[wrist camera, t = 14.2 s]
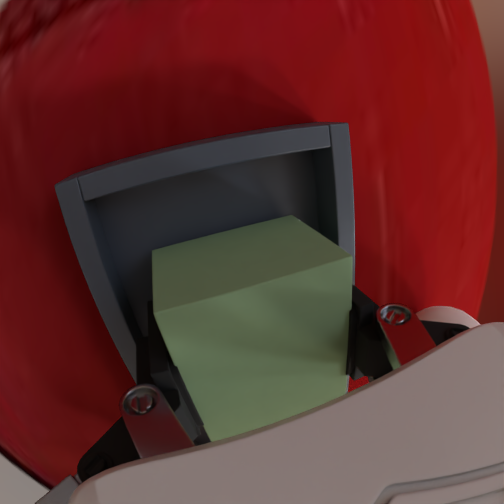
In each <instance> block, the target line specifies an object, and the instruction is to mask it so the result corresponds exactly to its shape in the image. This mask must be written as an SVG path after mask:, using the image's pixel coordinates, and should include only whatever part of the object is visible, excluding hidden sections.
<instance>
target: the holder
mask: <svg viewBox="0 0 504 504" xmlns="http://www.w3.org/2000/svg"><path fill="white" fill-rule="evenodd" d="M55 190H56V194H57V197H58V201H59V204H60V208H61V211H62V214H63V217H64V221H65V224H66V227H67V230H68V233H69V236H70V239H71V242H72V245H73V247H74V250H75V253H76V256H77V258H78V261H79V264H80V266H81V269H82V272H83V274H84V277H85V279H86V282H87V284H88V286H89V289H90V291H91V294H92V296H93V298H94V301H95V303H96V305H97V307H98V310H99V312H100V314H101V316H102V318H103V321H104V323H105V325H106V327H107V329H108V331H109V333H110V335H111V337H112V339H113V341H114V343H115V345H116V347H117V349H118V351H119V353H120V355H121V357H122V359H123V361H124V363H125V365H126V366H127V368H128V370H129V372H130V374H131V375H132V377H133V379H134V381H135V383H136V340H137V338H142V337H146V336H148V310H147V302H148V301H150V300H153V289H152V250H155V249H159V248H163V247H166V246H170V245H174V244H178V243H182V242H185V241H189V240H193V239H197V238H201V237H205V236H208V235H212V234H216V233H220V232H224V231H228V230H232V229H236V228H240V227H244V226H248V225H252V224H256V223H260V222H264V221H268V220H272V219H277V218H281V217H285V216H289V215H293V216H294V217H296V218H297V219H299V220H300V221H302V222H303V223H305V224H306V225H308V226H309V227H311V228H312V229H314V230H315V231H317V232H318V233H320V234H321V235H323V236H324V237H326V238H327V239H329V240H330V241H332V242H333V243H334V244H336V245H337V246H339V247H340V248H342V249H343V250H345V251H346V252H347V253H349V254H350V255H352V284H353V285H354V286H355V220H354V193H353V175H352V160H351V148H350V136H349V126H348V123H342V122H313V123H303V124H295V125H287V126H279V127H272V128H265V129H258V130H252V131H245V132H239V133H234V134H228V135H223V136H217V137H212V138H207V139H202V140H197V141H193V142H188V143H183V144H179V145H175V146H170V147H166V148H162V149H158V150H154V151H150V152H146V153H142V154H139V155H135V156H131V157H128V158H124V159H120V160H117V161H114V162H110V163H107V164H104V165H100V166H97V167H94V168H91V169H88V170H85V171H82V172H78V173H76V174H73V175H71V176H69V177H67V178H65V179H64V180H62V181H60V182H59V183H57V184H56V185H55ZM136 384H137V383H136ZM348 384H349V374H348V375H347V384H346V394H347V393H348ZM199 428H200V432H201V435H198V436H197V437H196V438H195V440H194V441H193V443H194V444H195V446H198V445H202V444H206V443H210V442H211V441H210V439H209V437H208V435H207V433H206V431H205V429H204V427H203V426H199Z"/></svg>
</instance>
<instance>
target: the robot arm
mask: <svg viewBox="0 0 504 504" xmlns="http://www.w3.org/2000/svg"><path fill="white" fill-rule="evenodd" d="M147 310H148V336H146V337H142V338H137V340H136V383H137V385H135V386H133V387H131V388H129V389H128V390H127V391H126V392H125V393H124V394H123V395H122V397H121V398H120V401H119V409H120V412H121V415H122V417H121V418H120V419H119V420H118V421H117V422H116V423H115V424H114V425H113V426H112V427H111V428H110V429H109V430H108V431H107V432H106V433H105V434H104V435H103V436H102V437H101V438H100V439H99V440H98V441H97V442H96V443H95V444H94V445H93V446H92V447H91V448H90V449H89V450H88V451H87V452H86V453H85V454H84V455H83V457H82V458H81V459H80V461H79V463H78V466H77V474H76V475H74V476H72V475H71V474H70V475H69V476H67V477H66V478H65V479H64V480H63V481H61V482H60V483H59V484H58V485H57V486H55V487H54V488H53V489H52V490H50V491H49V492H48V493H47V494H46V495H44V496H43V497H42V498H41V499H39V500H38V501H37V502H36V503H35V504H504V323H502V322H494V323H487V324H483V325H478V326H476V327H473V328H469V327H467V326H465V325H462V324H455V323H445V322H435V321H425V320H419V318H418V317H417V315H416V314H415V312H414V311H413V310H412V309H411V308H410V307H408V306H407V305H404V304H401V303H388V304H385V305H383V306H381V307H379V306H378V305H377V304H375V303H374V302H373V301H372V300H371V299H370V298H368V297H367V296H366V295H365V294H364V293H363V292H361V291H360V290H359V289H358V288H357V287H355V286H354V285H353V284H352V309H351V310H349V330H348V348H347V363H346V375H348V374H349V375H350V376H351V378H352V379H353V380H356V379H359V378H361V377H363V376H368V379H369V382H370V383H368V384H366V385H364V386H362V387H359V388H357V389H355V390H353V391H351V392H349V393H347V394H344V395H342V396H340V397H338V398H335V399H333V400H331V401H329V402H326V403H324V404H322V405H319V406H317V407H314V408H312V409H309V410H307V411H304V412H302V413H299V414H297V415H294V416H291V417H289V418H286V419H283V420H280V421H278V422H275V423H272V424H269V425H266V426H263V427H260V428H257V429H254V430H251V431H248V432H245V433H241V434H238V435H235V436H231V437H228V438H224V439H221V440H217V441H214V442H210V443H206V444H202V445H198V446H195V444H194V443H193V441H194V440H195V438H196V437H197V436H198V435H201V432H200V428H199V426H203V425H204V423H203V421H202V419H201V417H200V415H199V413H198V411H197V409H196V407H195V405H194V403H193V400H192V398H191V396H190V394H189V392H188V390H187V387H186V385H185V383H184V381H183V379H182V376H181V374H180V372H179V369H178V367H177V366H175V365H174V363H173V361H172V359H171V356H170V354H169V352H168V349H167V347H166V344H165V342H164V340H163V337H162V335H161V332H160V330H159V327H158V324H157V322H156V319H155V317H154V313H153V300H150V301H148V302H147Z"/></svg>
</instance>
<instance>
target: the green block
mask: <svg viewBox="0 0 504 504" xmlns="http://www.w3.org/2000/svg"><path fill="white" fill-rule="evenodd" d="M152 289H153V313H154V317H155V319H156V322H157V324H158V327H159V330H160V332H161V335H162V337H163V340H164V342H165V344H166V347H167V349H168V352H169V354H170V356H171V359H172V361H173V363H174V365H175V366H177V367H178V369H179V372H180V374H181V376H182V379H183V381H184V383H185V385H186V387H187V390H188V392H189V394H190V396H191V398H192V400H193V403H194V405H195V407H196V409H197V411H198V413H199V415H200V417H201V419H202V421H203V423H204V425H203V427H204V429H205V431H206V433H207V435H208V437H209V439H210V441H211V442H214V441H217V440H221V439H224V438H228V437H231V436H235V435H238V434H241V433H245V432H248V431H251V430H254V429H257V428H260V427H263V426H266V425H269V424H272V423H275V422H278V421H280V420H283V419H286V418H289V417H291V416H294V415H297V414H299V413H302V412H304V411H307V410H309V409H312V408H314V407H317V406H319V405H322V404H324V403H326V402H329V401H331V400H333V399H335V398H338V397H340V396H342V395H344V394H346V384H347V375H346V363H347V348H348V330H349V310H351V309H352V255H350V254H349V253H347V252H346V251H345V250H343V249H342V248H340V247H339V246H337V245H336V244H334V243H333V242H332V241H330V240H329V239H327V238H326V237H324V236H323V235H321V234H320V233H318V232H317V231H315V230H314V229H312V228H311V227H309V226H308V225H306V224H305V223H303V222H302V221H300V220H299V219H297V218H296V217H294V216H293V215H289V216H285V217H281V218H277V219H272V220H268V221H264V222H260V223H256V224H252V225H248V226H244V227H240V228H236V229H232V230H228V231H224V232H220V233H216V234H212V235H208V236H205V237H201V238H197V239H193V240H189V241H185V242H182V243H178V244H174V245H170V246H166V247H163V248H159V249H155V250H152Z"/></svg>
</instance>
